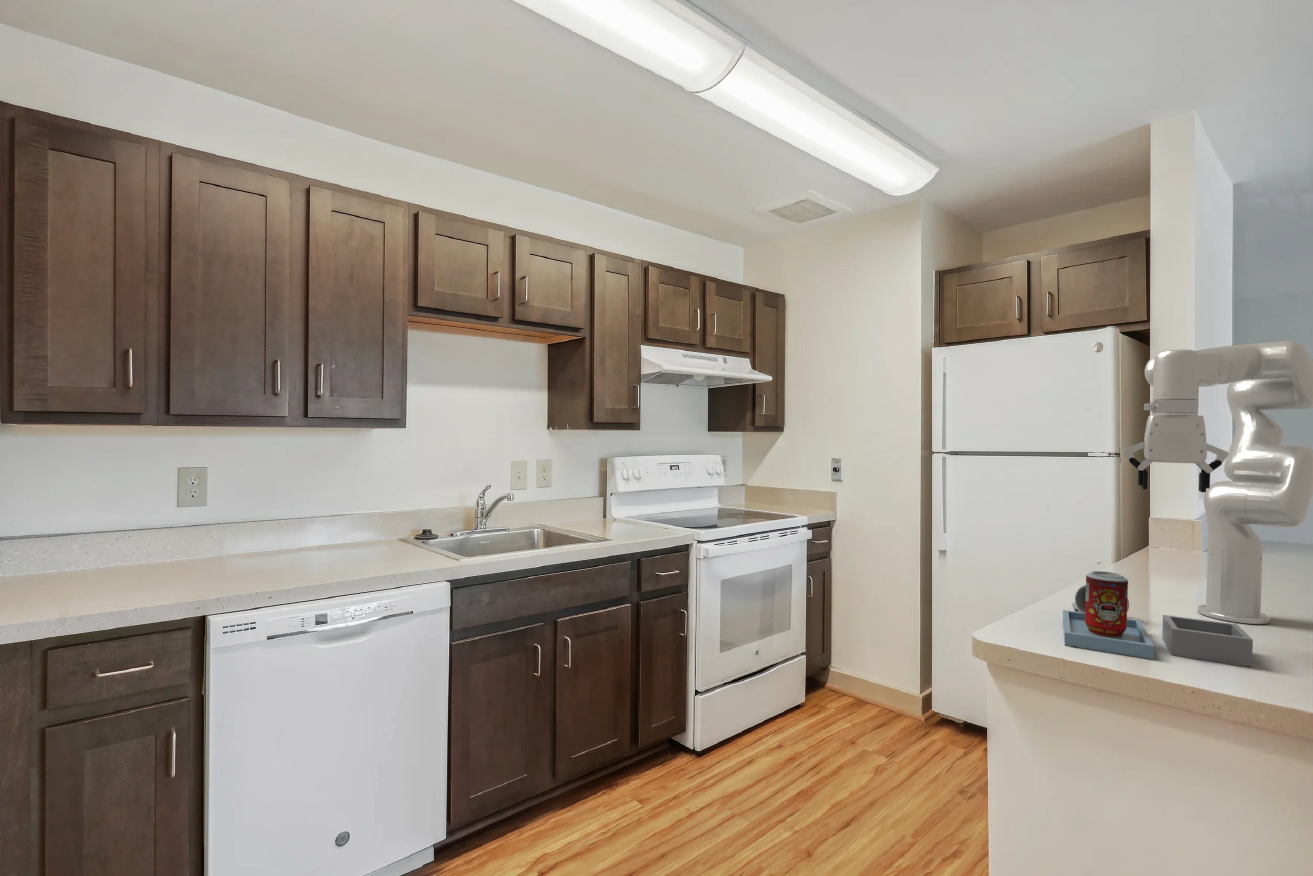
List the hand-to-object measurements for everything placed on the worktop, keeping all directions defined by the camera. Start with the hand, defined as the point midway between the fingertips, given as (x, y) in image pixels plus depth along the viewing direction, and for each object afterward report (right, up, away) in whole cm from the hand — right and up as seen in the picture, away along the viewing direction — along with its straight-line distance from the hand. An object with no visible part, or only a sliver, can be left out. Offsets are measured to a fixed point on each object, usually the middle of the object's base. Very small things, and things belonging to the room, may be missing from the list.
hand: (1172, 490), depth 136 cm
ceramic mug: (-7, -30, +13) cm, 34 cm away
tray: (-17, -30, -4) cm, 35 cm away
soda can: (-17, -29, -4) cm, 34 cm away
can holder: (-3, -30, -11) cm, 32 cm away
